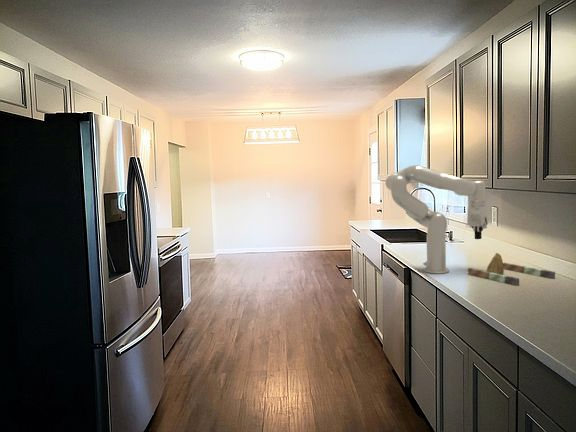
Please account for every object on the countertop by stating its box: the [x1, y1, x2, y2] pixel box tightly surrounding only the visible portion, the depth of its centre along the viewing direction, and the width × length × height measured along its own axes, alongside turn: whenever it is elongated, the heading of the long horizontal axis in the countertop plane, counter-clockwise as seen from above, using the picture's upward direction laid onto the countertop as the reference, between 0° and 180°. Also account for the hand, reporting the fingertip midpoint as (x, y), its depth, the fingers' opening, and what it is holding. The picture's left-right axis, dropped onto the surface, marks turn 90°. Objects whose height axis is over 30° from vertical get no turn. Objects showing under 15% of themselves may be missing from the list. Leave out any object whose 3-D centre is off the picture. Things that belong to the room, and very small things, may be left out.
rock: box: [485, 252, 505, 275], centre depth 226 cm, size 11×9×10 cm
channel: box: [467, 262, 556, 287], centre depth 218 cm, size 28×26×3 cm
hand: (478, 238), depth 235 cm, fingers closed
